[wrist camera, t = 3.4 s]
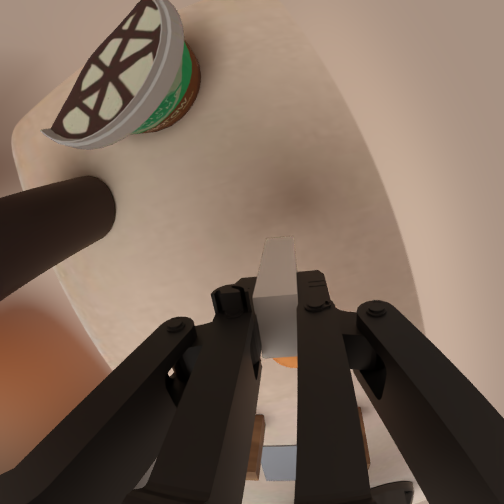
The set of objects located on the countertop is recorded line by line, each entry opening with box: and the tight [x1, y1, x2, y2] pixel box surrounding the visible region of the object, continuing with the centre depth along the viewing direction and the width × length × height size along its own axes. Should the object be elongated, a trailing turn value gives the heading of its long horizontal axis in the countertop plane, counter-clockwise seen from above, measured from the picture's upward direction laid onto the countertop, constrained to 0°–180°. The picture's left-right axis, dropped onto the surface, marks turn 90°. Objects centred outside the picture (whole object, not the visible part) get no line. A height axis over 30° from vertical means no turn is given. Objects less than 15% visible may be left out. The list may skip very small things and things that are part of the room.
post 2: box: [358, 407, 370, 469], centre depth 27 cm, size 3×3×9 cm
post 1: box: [246, 415, 265, 480], centre depth 29 cm, size 3×3×9 cm
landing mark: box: [261, 445, 297, 481], centre depth 37 cm, size 14×14×1 cm
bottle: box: [0, 176, 115, 301], centre depth 17 cm, size 7×7×20 cm
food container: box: [40, 0, 201, 150], centre depth 17 cm, size 12×6×10 cm, turn 138°
